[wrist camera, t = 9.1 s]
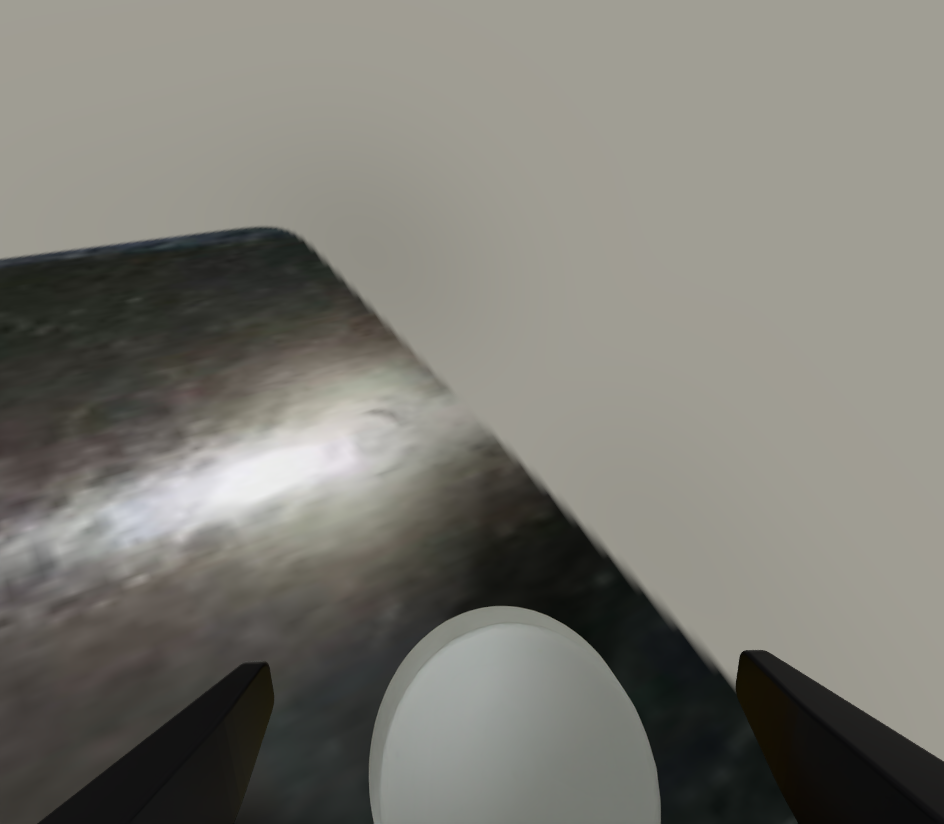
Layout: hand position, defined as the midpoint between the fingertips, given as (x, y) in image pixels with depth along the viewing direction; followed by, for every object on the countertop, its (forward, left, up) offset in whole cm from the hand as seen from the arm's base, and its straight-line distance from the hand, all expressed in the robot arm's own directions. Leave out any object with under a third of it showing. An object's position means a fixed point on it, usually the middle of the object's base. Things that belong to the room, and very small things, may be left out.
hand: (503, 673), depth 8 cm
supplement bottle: (0, -1, -8) cm, 8 cm away
